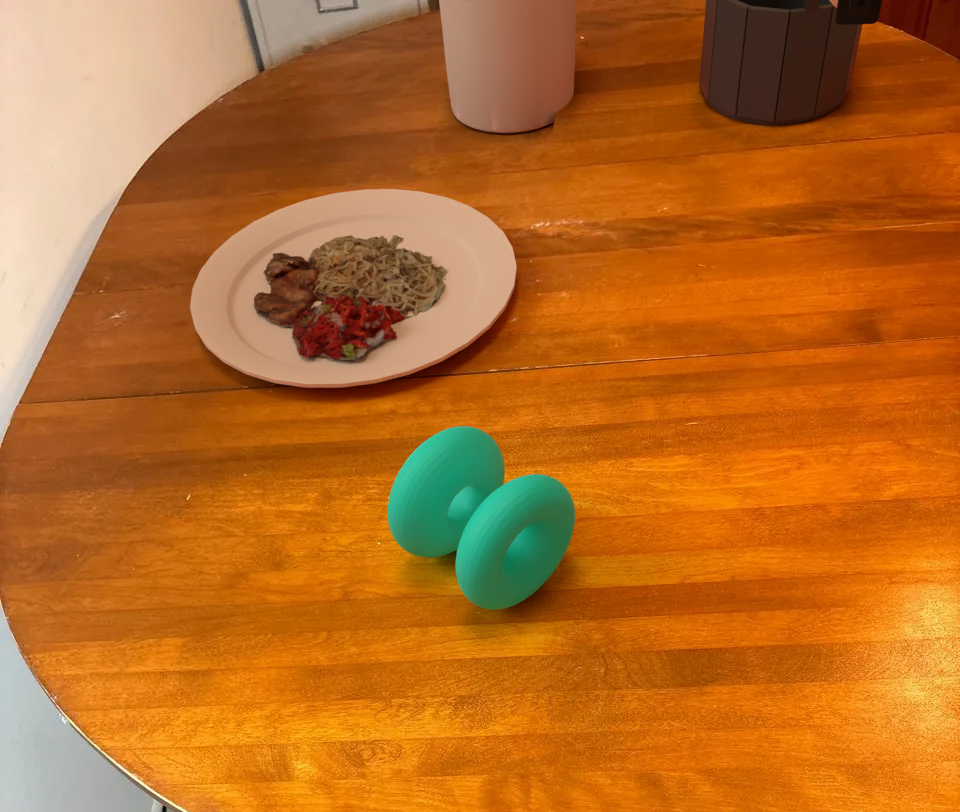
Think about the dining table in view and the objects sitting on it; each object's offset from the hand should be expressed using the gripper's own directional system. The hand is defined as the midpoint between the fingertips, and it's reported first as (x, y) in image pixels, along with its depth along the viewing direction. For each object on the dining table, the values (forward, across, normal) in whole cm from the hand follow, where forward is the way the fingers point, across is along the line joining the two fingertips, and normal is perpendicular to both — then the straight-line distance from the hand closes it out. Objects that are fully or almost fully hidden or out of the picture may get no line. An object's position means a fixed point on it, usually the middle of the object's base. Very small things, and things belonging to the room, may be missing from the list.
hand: (853, 4), depth 84 cm
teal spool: (+20, -44, +25) cm, 54 cm away
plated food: (+20, -11, +42) cm, 47 cm away
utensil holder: (+20, +24, +31) cm, 44 cm away
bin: (+18, +24, +3) cm, 30 cm away
